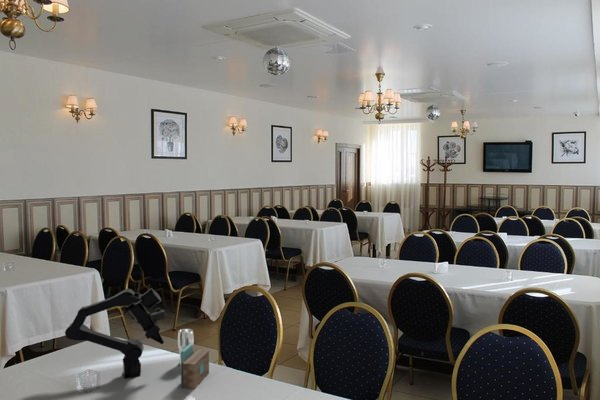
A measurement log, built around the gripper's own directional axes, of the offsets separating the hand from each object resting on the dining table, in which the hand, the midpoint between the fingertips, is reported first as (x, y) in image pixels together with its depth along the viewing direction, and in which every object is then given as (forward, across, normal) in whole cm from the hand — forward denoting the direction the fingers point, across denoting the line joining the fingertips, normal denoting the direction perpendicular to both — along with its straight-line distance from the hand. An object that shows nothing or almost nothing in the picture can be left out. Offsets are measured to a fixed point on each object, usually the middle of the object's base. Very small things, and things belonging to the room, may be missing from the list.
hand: (162, 343), depth 223 cm
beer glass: (+16, +8, -2) cm, 18 cm away
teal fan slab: (+18, -11, -2) cm, 21 cm away
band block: (+18, -11, -2) cm, 22 cm away
